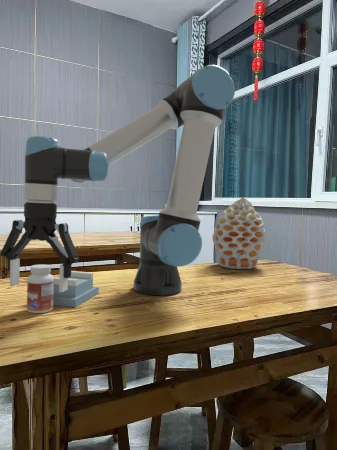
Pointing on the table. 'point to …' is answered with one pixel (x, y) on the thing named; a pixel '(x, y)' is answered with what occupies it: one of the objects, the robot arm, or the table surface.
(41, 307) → the pill bottle
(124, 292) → the table surface
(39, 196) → the robot arm
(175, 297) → the table surface
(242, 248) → the sculpture
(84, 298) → the pedestal
